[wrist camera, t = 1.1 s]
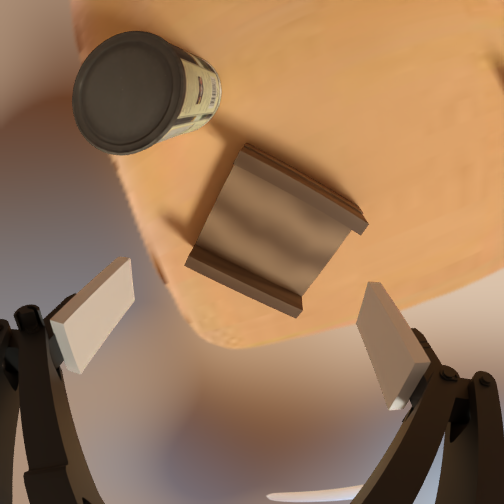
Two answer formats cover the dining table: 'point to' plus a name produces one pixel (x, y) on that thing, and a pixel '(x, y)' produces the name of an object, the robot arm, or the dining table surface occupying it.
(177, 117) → the coffee can
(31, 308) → the robot arm
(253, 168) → the stand
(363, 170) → the dining table surface
